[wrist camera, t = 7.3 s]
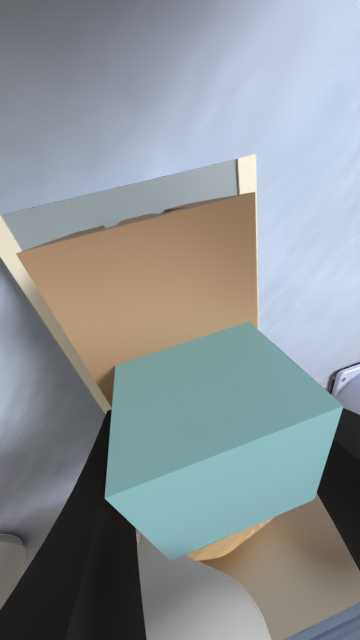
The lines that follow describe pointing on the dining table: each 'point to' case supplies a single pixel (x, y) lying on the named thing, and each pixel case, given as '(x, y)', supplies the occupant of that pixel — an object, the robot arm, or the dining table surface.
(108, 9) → the dining table surface
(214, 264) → the tan block
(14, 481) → the dining table surface
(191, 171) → the dock
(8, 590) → the can
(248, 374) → the teal cube block
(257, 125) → the dining table surface
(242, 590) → the chalice
